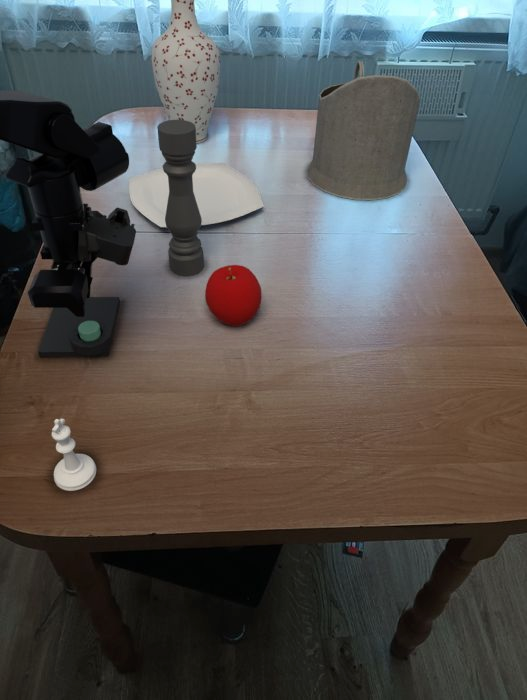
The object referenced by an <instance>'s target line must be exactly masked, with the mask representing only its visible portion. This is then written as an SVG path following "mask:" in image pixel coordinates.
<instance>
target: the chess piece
mask: <svg viewBox="0 0 527 700" xmlns="http://www.w3.org/2000/svg"><path fill="white" fill-rule="evenodd" d="M53 423H54V426H53V428H52V429H51V438H52V439H53V440H54V441H55V442H56V444H55V450H56V451H57V452H58V453H59V454H63V458H62V459H61V460H60V461H59V462H58V463H57V464H56V465H55V467H54V471H53V480H54V483H55V485H56V487H58V488H59V489H61V490H64V491H68V492H75V491H78V490H81V489H83V488H85V487H87V486H89V484H90V483H91V482H92V481H94V479H95V477H96V476H97V475H96V474H97V465H96V463H95V461H94V460H93V458H92V457H90V456H89V455H87V454H85V453H75V452H74V449H75V448H76V440H74V439H73V438H72V437H71V428H70V426H68V425H65V423H66V420H65V419H64V418H61V417H60V419H58V418H55V420H53Z"/></svg>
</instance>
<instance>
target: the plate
mask: <svg viewBox="0 0 527 700" xmlns="http://www.w3.org/2000/svg"><path fill="white" fill-rule="evenodd" d="M194 163H195V165H196V170H195V172H194V173H193V175H192V179H193V192H194V196H195V199H196V202H197V206H198V209H199V212H200V215H201V218H202V223H201V226H200V227H205V226H212V225H218V224H222V223H225V222H229V221H233V220H235V219H239V218H242V217H244V216H246V215H250V214H251V213H254V212H256V211H258V210H260V209H263V208H264V203H263V199H262V196H261V193H260V191H259V189H258V187H257V186H256V184H255V183H254V181H253V180H252V179H250V178H249V177H248V176H246V175H245V174H243V173H242V172H240V170H239V171H238V170H237V169H235V168H233V167H232V166H230V165H228V164H226V163H224V162H194ZM128 193H129V198H130V201H131V204H132V205H133V206H134V208H135V209H136V210H137V211H138V212H139V213H140V214H141V215H142V216H144V217H145V218H146V219H147V220H148V221H150V222H151V223H153V224H155V225H156V226H157V227H159V228H160V229H167V226H166V223H165V215H166V209H167V203H168V196H169V183H168V176H167V174H166V173H165V172H164V170H163V167H161V168H157V169H153V170H151V171H147V172H144V173H141V174H138V175H135V176H133V177H130V178H129V181H128Z"/></svg>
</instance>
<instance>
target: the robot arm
mask: <svg viewBox="0 0 527 700" xmlns="http://www.w3.org/2000/svg"><path fill="white" fill-rule="evenodd" d="M72 109H73V108H72V107H70V105H68V104H67V103H65V102H62V101H60V100H56V99H53V98H49V97H46V96H41V95H38V94H36V93H35V94H34V93H31V92H28V91H24V90H18V89H17V90H16V89H15V90H14V89H12V90H11V89H8V90H7V89H5V90H3V89H2V90H0V141H2V142H5V143H8V144H11V145H14V146H17V147H20V148H23V149H25V150H29V151H32V152H34V153H38V155H35V156H33V157H31V158H29V159H26V158H23V157H21V156H16V157H15V159H14V162H13V164H12V166H10V168H9V169H8V170H7V173H5V178H6V180H8V181H10V182H13V183H15V184H19V185H22V186H24V187H27V191H28V194H29V197H30V201H31V205H32V208H33V211H34V217H33V219H32V220H31V227H32V230H33V232H34V231H35V232H36V231H38V232H39V233H40V236H41V240H42V243H43V245H42V247H41V250H40V252H39V254H40V257H41V260H52V264H51V267H50V269H39V271H38V272H37V273H36V274H35V275H34V276H33V279H32V281H31V283H30V286H29V288H28V290H27V295H28V300H29V302H30V304H31V306H33V308H35V309H53V308H68V309H69V310H70V311H71V312H72V313H73V314H74V315H75V316H76V317H84V315H85V300H86V298H90V297H91V292H92V291H91V289H92V283H93V279H94V277H93V276H92V274H93V273H92V270H93V263H94V262H95V261H96V260H97V259H101V260H105V261H108V262H112V263H115V264H116V265H118V266H122V267H123V266H127V265H128V264H129V262H130V259H131V255H132V251H133V247H134V244H135V243H134V242H135V240H136V235H137V230H136V228H135V223H131V219H130V215H129V211H128V210H127V209H124V208H121V207H116V208H114V209H113V210H112V211H111V212H110V213H109V214H108V216H107V215H105V214H102V213H101V212H100V211H98V210H92V207H91V206H89V203H84V201H83V195H82V192H81V189H82V190H85V191H86V192H87V191H88V192H93V191H95V190H97V189H99V188H101V187H103V186H104V185H106V184H108V183H110V182H112V181H113V180H115V179H117V178H119V177H120V176H122V175H124V174H125V173H126V172H128V170H129V168H130V167H129V166H130V156H129V153H128V152H127V151H126V148H125V146H124V144H123V143H122V141H121V140H120V139H119V138H118V137H117V136H116V135H115V134H114V133H113V132H114V131H113V126H112V125H111V124H108V123H105V122H101V121H97V122H95V123H93V124H91V126H89V127H87V128H86V129H83V128H82V127H81V126H80V124H78V123H77V122H76V119H75V115H74V113H73V110H72Z"/></svg>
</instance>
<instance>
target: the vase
mask: <svg viewBox="0 0 527 700" xmlns="http://www.w3.org/2000/svg"><path fill="white" fill-rule="evenodd" d="M170 2H171V3H170V5H171V6H170V7H171V13H170V14H171V15H170V20H169V24H168V26H167V28H166V30H165V31H164V32H163V33H162V34H160V35H159V36H158V37H157V38H156V39H155V40H154V42H153V44H152V46H151V61H150V62H151V67H152V73H153V79H154V85H155V88H156V89H155V90H156V91H157V95H158V96H159V99H160V102H161V104H162V107H163V109H164V112H165V115H166V117H167V121H168V120H185V121H189V122H192V123H193V124H195V127H196V144H197V145H198V144H201V143H203V142H205V141H206V140H207V138H208V136H207V134H208V129H209V126H210V121H211V118H212V115H213V111H214V107H215V103H216V99H217V96H218V93H219V88H220V77H221V76H220V75H221V57H220V49H219V48H218V45H217V44H216V42H215V40H214V39H213V38H212V37H210V35H208V34H206V33H205V32H204V31H203V30H202V29H201V28H200V25H199V23H198V20H197V16H196V9H195V8H196V7H195V0H170Z"/></svg>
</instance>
